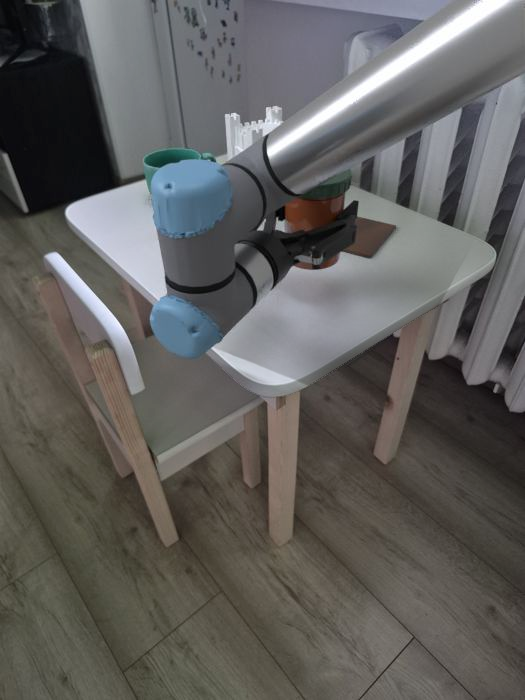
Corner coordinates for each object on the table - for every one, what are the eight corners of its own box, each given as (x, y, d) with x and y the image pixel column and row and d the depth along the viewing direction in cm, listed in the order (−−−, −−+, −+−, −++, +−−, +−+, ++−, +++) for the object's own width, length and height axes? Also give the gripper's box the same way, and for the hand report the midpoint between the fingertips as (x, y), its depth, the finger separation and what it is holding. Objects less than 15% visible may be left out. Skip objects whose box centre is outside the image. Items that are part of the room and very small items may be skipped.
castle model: (253, 200, 109) (251, 131, 99) (227, 179, 118) (222, 114, 108) (306, 187, 114) (309, 120, 104) (277, 168, 123) (277, 105, 113)
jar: (348, 250, 77) (356, 172, 69) (325, 275, 72) (330, 194, 64) (300, 237, 81) (302, 162, 73) (274, 261, 75) (273, 182, 67)
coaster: (395, 228, 97) (396, 225, 97) (370, 258, 88) (370, 255, 88) (332, 213, 103) (333, 210, 103) (302, 240, 94) (303, 238, 94)
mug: (158, 215, 104) (150, 172, 97) (144, 194, 112) (136, 153, 106) (229, 201, 109) (226, 158, 102) (210, 182, 117) (206, 141, 111)
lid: (331, 204, 64) (332, 190, 62) (267, 189, 68) (267, 176, 67) (361, 179, 70) (363, 166, 69) (301, 167, 74) (301, 154, 73)
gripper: (186, 273, 67) (268, 211, 82) (326, 318, 58) (389, 240, 73) (178, 223, 62) (267, 167, 77) (330, 264, 53) (397, 192, 68)
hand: (326, 202), depth 75 cm, fingers closed on jar, 9 cm apart
